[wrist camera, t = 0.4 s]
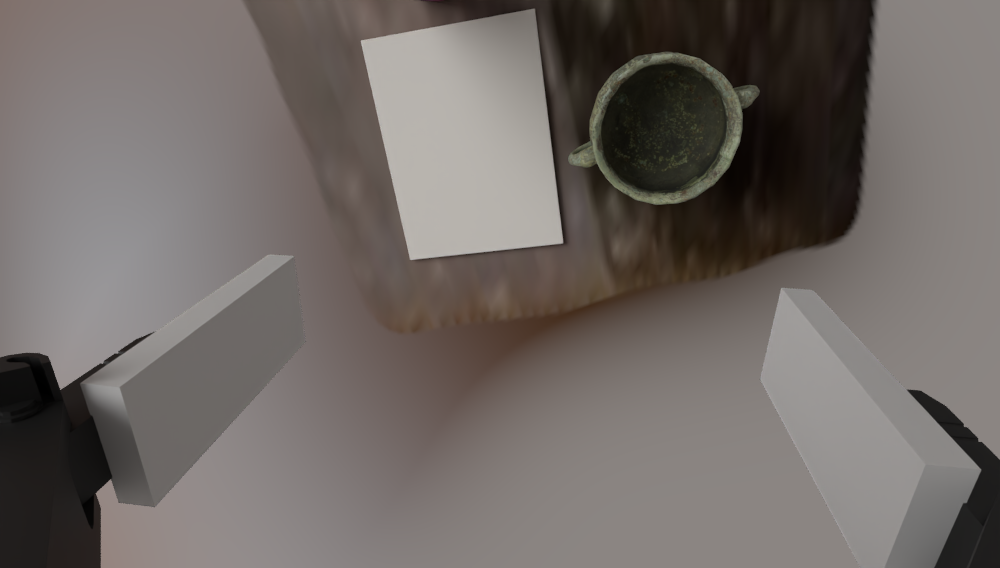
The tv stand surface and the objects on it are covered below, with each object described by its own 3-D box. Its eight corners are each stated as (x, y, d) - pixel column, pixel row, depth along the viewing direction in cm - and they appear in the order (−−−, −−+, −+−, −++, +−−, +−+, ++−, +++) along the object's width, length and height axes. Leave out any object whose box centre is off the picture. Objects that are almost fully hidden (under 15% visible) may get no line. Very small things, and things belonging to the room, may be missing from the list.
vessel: (590, 209, 41) (591, 234, 36) (547, 91, 39) (541, 98, 33) (759, 149, 38) (791, 166, 33) (726, 16, 36) (753, 9, 30)
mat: (362, 40, 39) (360, 40, 39) (534, 8, 37) (534, 8, 36) (411, 258, 45) (410, 259, 44) (563, 241, 43) (563, 243, 42)
